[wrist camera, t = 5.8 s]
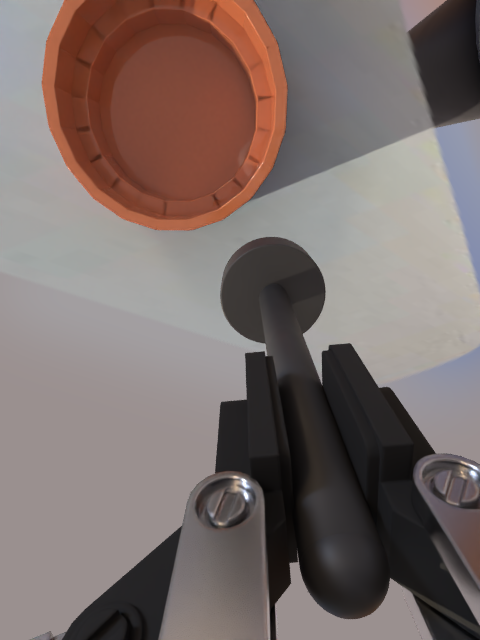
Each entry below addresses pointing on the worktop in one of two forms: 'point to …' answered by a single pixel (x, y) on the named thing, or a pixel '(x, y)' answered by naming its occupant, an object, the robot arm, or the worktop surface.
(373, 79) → the worktop surface
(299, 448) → the grey disc stick
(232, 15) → the bowl
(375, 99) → the worktop surface
